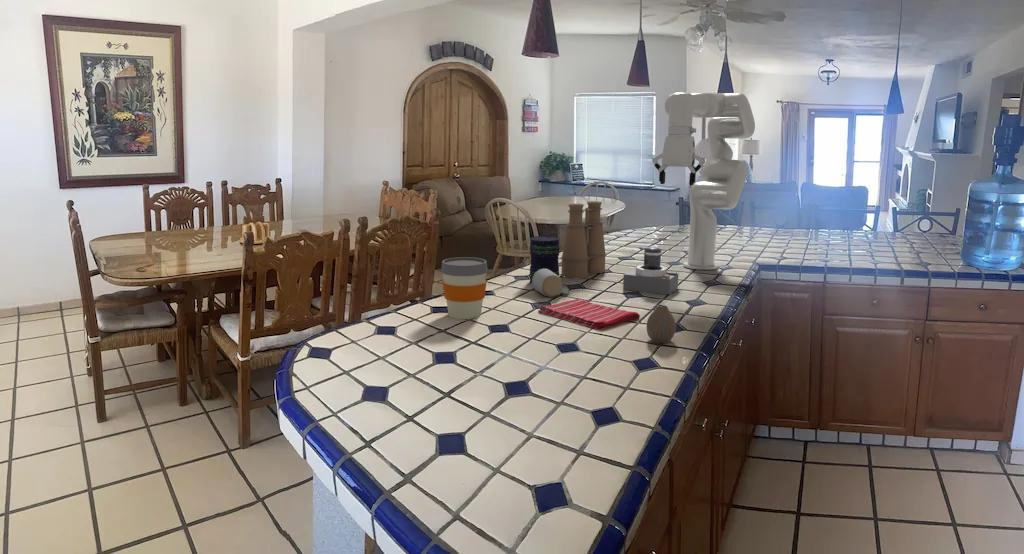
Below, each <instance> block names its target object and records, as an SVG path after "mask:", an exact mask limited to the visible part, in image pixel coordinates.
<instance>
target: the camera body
mask: <svg viewBox="0 0 1024 554" xmlns="http://www.w3.org/2000/svg"><path fill="white" fill-rule="evenodd" d="M678 286H679V273H678V272H676V271H669V270H668V267H666V266H663V265H660V270H648V269H644V264H640V265H637V266H636V267H635V268H632V269H630V270H629V271H627V272H625V273H624V274H623V285H622V290H625V291H632V292H633V291H634V292H642V293H649V294H650V293H651V294H657V293H659V295H665V294H669V295H668V296H670V295H671V294H673V293H674V292H675V291H676V290H678V289H679V287H678ZM677 288H678V289H677ZM673 291H674V292H673ZM672 292H673V293H672Z"/></svg>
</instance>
